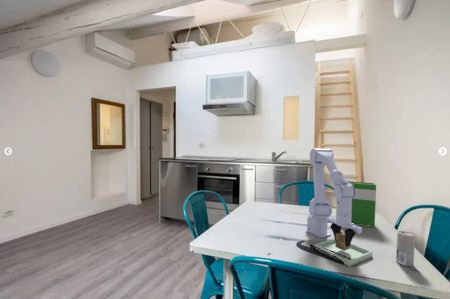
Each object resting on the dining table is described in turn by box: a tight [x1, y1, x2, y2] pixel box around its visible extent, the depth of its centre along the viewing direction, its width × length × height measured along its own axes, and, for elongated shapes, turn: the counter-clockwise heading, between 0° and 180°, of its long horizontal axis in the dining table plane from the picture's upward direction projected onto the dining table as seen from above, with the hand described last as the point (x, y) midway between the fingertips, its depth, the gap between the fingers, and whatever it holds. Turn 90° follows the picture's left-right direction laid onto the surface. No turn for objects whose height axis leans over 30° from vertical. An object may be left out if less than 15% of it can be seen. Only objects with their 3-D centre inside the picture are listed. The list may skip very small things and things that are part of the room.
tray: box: [313, 237, 373, 268], centre depth 97 cm, size 16×16×2 cm
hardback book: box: [347, 180, 377, 227], centre depth 135 cm, size 18×7×24 cm, turn 63°
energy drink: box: [396, 230, 416, 267], centre depth 89 cm, size 5×5×12 cm
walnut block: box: [335, 230, 350, 251], centre depth 96 cm, size 4×4×6 cm
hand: (342, 243), depth 96 cm, fingers closed on walnut block, 4 cm apart
